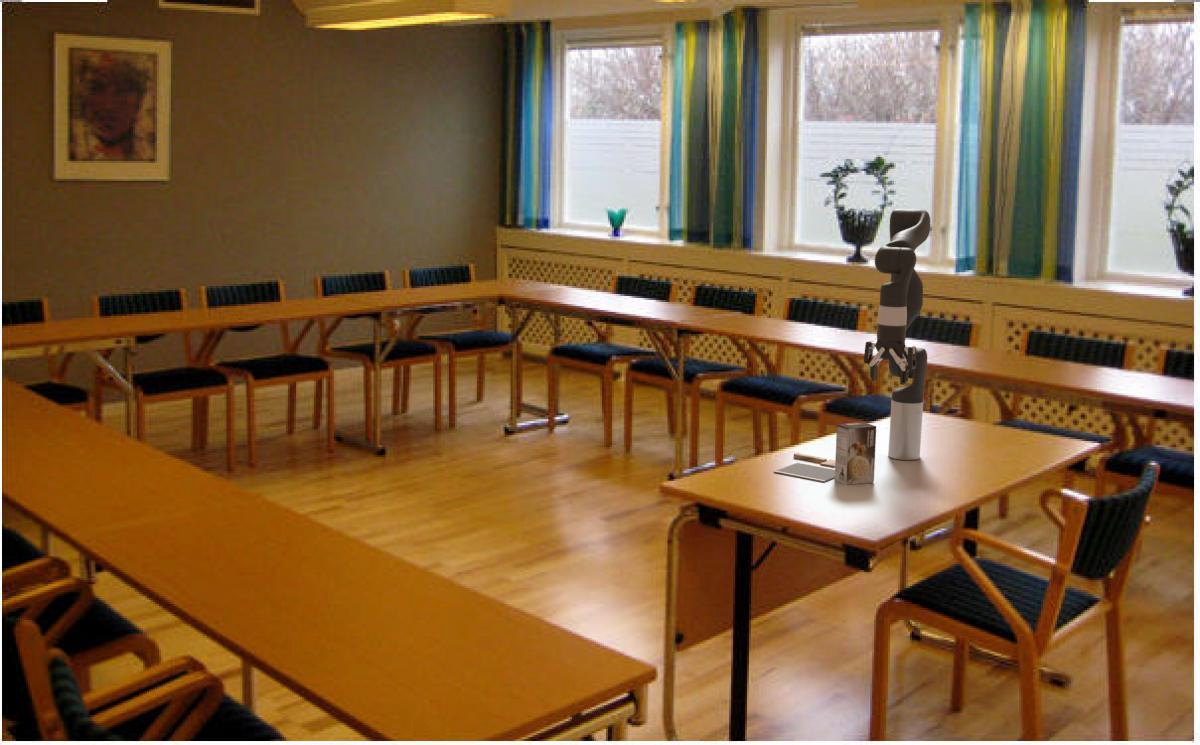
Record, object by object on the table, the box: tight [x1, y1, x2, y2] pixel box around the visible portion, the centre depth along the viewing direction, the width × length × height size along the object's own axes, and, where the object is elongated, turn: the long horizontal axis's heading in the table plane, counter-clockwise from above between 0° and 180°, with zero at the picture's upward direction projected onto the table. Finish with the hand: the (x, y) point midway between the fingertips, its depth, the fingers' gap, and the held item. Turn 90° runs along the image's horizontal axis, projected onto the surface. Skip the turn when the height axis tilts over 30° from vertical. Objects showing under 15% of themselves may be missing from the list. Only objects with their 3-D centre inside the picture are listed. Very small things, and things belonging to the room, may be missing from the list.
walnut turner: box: [793, 452, 835, 469], centre depth 396 cm, size 18×6×1 cm, turn 53°
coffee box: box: [834, 421, 877, 486], centre depth 374 cm, size 9×6×16 cm
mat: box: [773, 461, 835, 483], centre depth 384 cm, size 14×16×1 cm
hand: (888, 382), depth 363 cm, fingers open, 8 cm apart
